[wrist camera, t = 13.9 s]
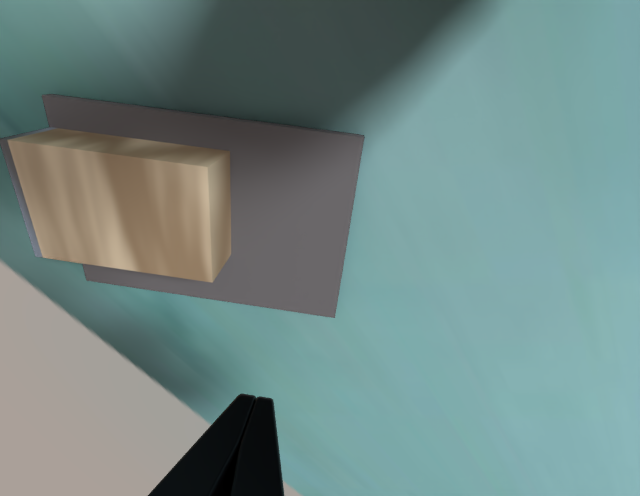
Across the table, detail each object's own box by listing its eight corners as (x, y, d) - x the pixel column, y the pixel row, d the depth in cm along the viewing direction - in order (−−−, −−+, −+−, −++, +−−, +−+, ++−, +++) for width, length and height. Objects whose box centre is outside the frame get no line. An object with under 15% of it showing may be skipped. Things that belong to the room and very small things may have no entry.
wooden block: (207, 167, 15) (-2, 138, 16) (212, 282, 18) (35, 256, 19) (229, 151, 18) (50, 127, 18) (231, 254, 21) (75, 231, 21)
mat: (364, 135, 18) (364, 137, 17) (335, 311, 23) (334, 317, 22) (51, 94, 18) (41, 95, 18) (92, 275, 23) (86, 280, 23)
